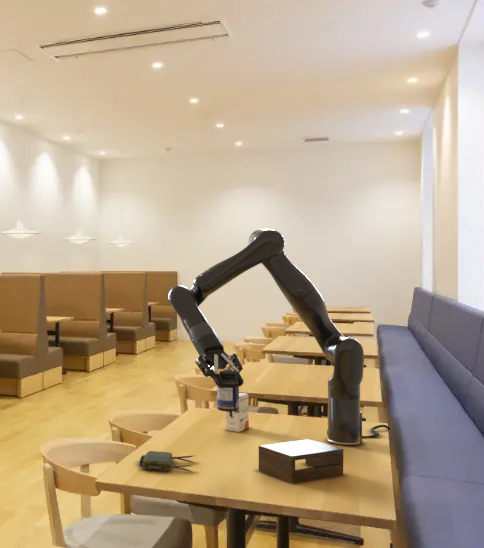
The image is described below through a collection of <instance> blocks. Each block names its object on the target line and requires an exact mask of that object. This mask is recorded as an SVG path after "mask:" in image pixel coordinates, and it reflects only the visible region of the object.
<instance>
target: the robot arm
mask: <svg viewBox="0 0 484 548" xmlns="http://www.w3.org/2000/svg"><path fill="white" fill-rule="evenodd" d="M285 243H286V242H285V237H284V236H283V234H281V232H279V231H277V230H275V229H272V228H259V229H256V230H254V231H253V232H252V233H251V234H250V235H249V237H248V245H246V246H245V247H244V248H243V249H241V250H240V251H238V252H237V253H235V254H233V255H231V256H230V257H228V258H225V259H223V260H222V261H219V262H217V263H216V264H214V265H212V266H211V267H209V268H207V269H206V270H204V271H203V272H201V273H200V274H198V275H197V276H196V277H194V279H193V283H192V286H191V287H190V288H188V287H187V286H185V285H181V284H177V285H174V286H172V287H171V288H170V290H169V291H168V297H167V298H168V302H169V303H170V305H171V307H172V309H173V311H174V312H175V313H176V314H177V316H178V317H179V319H180V321H181V324H182V326H183V327H184V330H185V332H186V333H187V335H188V337H189V340H190V342H191V343H192V345H193V347H194V349H195V351H196V352H197V354H198V357H197V358H196V360H194V362H195V364H196V366H197V368H198V369H199V370H200V371H201V373H202V374H203V376H204V377H205V378H208V377H210V378H211V379H212V380H213V381H214V384H215V385H216V387H217V386H218V387H219V388H223V386H224V385H225V383H224V381H223V380H222V378H221V376H220V374H219V370H222V371H234V372H236V378H235V379H236V380H237V381H238V382H239V387H242V386H243V385H244V384H245V383H244V379H243V377H242V375H241V374H240V373H241V372H242V371H243V370H244V367H243V365H242V364H241V361H240V359H239V358H238V355H237V354H236V353H232V354H228V353H226V351H225V349H224V345H223V343H222V341H221V339H220V338H219V337H218V335H217V333H216V331H215V330H214V328H213V326H212V325H211V324H210V323H209V321H208V319H207V318H206V316H205V315H204V313H203V312H202V310H201V309H200V308H199V306H201V305H202V303H203V302H204V301H205V300H206V299H207V298H208V297H209V296H210V295H212V294H214V293H215V292H217V291H218V290H220V289H221V288H223V287H224V286H225V285H227V284H228V283H230V282H231V281H233V280H234V279H236V278H237V277H239V276H241V275H243V274H244V273H246V272H247V271H249V270H251V269H253V268H254V267H256V266H258V265H260V264H262V265H263V267H264V268H265V269H266V271H268V273H269V274H270V276H271V278H273V280H274V282H275V284H276V285H277V287H278V288H279V290H280V292H281V293H282V294H283V296H284V298H285V299H286V301H287V302H288V304H289V305H290V306H291V308H292V309H293V311H294V312H295V313H296V314H297V316H298V317H299V319H300V320H301V321H302V322H303V324H304V325H305V326H306V328H307V329H308V330H309V331H310V333H311V335H312V336H313V338H314V339H315V340H316V343H317V344H318V346H319V348H320V349H321V351H322V353H323V355H324V357H325V358H326V360H328V361H329V362H330V363H332V364H333V372H332V375H330V376H329V377H328V379H327V430H326V435H327V436H326V437H327V438H326V441H327V442H328V443H331V444H335V445H341V446H358V445H361V444H362V443H363V439H372V438H376V437H379V436H380V432H379V431H377V429H379V428H385V429H387V430H389V431H390V430H391V427H390V426H389V425H386V424H377V425H375V426H373V427H370V432H371V433H373V434H371V435H363V413H362V412H361V384H362V381H363V378H364V367H365V366H364V365H365V353H364V347H363V346H362V343H361V342H360V341H359V340H357V339H356V338H353V337H349V336H345V335H343V333H342V332H340V330H339V329H338V328H337V327H336V325H335V324H334V322H333V321H332V319H331V318H330V315H329V312H328V308H327V305H326V302H325V300H324V297H323V296H322V295H321V293H320V291H319V290H318V289H317V287H316V285H314V283H313V281H311V280H310V278H309V277H307V275H306V274H305V273H304V272H302V271H301V270H300V269H299V268H298V267H297V266H296V265H295V264H294V263H293V262H292V261H291V260H290V258H289V257H288V256H287V254H286V253H285V251H284V248H285ZM389 548H394V544H393V542H389Z"/></svg>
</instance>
